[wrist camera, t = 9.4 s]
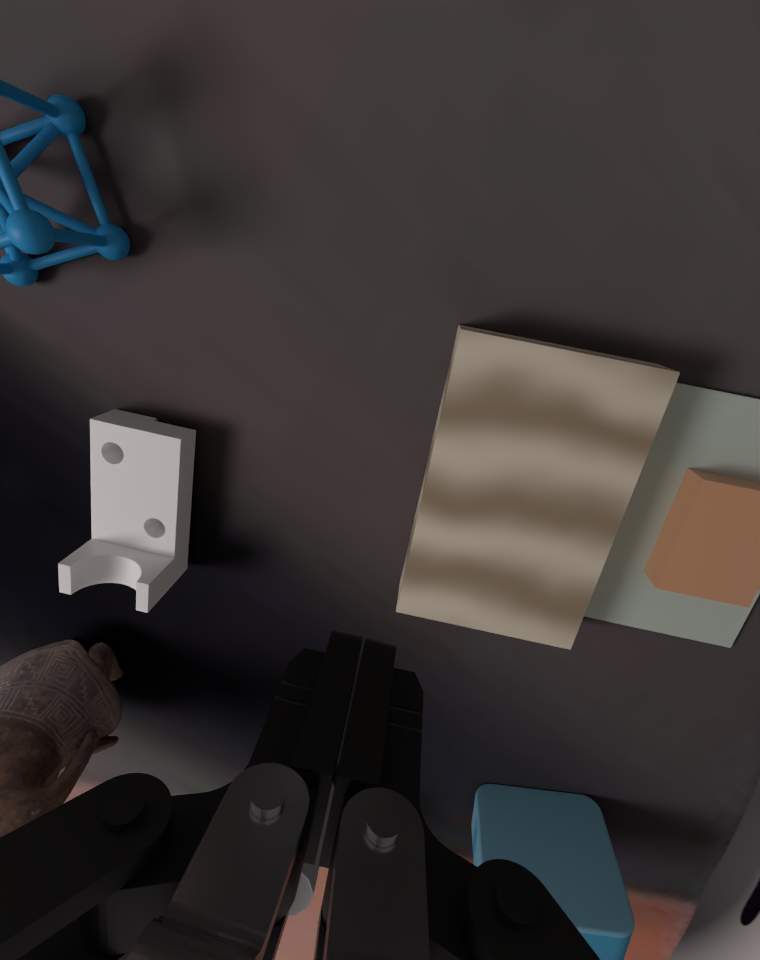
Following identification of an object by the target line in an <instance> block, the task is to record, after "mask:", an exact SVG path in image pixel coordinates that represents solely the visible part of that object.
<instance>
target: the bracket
mask: <svg viewBox="0 0 760 960" xmlns="http://www.w3.org/2000/svg"><path fill="white" fill-rule="evenodd" d="M195 440H196V430H193V429H188V428H184V427H180V426H175V425H171V424H166V423H162V422H157V418H153V417H148V416H144V415H140V414H135V413H131V412H126V411H122V410H117V409H114V410H112V411H109V412H107V413H104V414H101V415H99V416H96V417H94V418H91V419H90V459H91V523H92V539H91V540H90V541H88V542H87V543H85V544H84V545H83V546H81V547H80V548H79V549H77V550H76V551H74V552H73V553H72V554H70V555H69V556H68V557H66V558H65V559H64V560H62V561H61V562H59V563H58V571H59V592H61V593H66V594H70V595H72V594H73V593H74V592H76V591H78V590H79V589H82V588H84V587H87V586H90V585H94V584H99V583H119V584H124V585H127V586H130V587H132V588H134V589H135V590H136V610H137V611H142V612H146V613H148V612H149V611H150V610H151V609H152V608H153V606H154V605H155V604H156V603H157V602H158V601H159V600H160V599H161V597H162V596H163V595H164V594H165V593H166V592H167V591H168V590H169V588H170V587H171V586H172V585H173V584H174V583H175V582H176V581H177V579H178V578H179V577H180V576H181V575H182V574H183V573H184V572H185V570H186V569H187V563H188V547H189V532H190V517H191V501H192V486H193V471H194V455H195Z"/></svg>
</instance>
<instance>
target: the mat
mask: <svg viewBox="0 0 760 960" xmlns="http://www.w3.org/2000/svg"><path fill="white" fill-rule="evenodd" d="M687 468H691V469H696V470H701V471H707V472H712V473H717V474H722V475H727V476H732V477H737V478H742V479H747V480H752V481H757V482H760V399H757V398H752V397H747V396H742V395H737V394H732V393H727V392H722V391H717V390H712V389H706V388H701V387H696V386H691V385H686V384H681V383H676V385H675V387H674V390H673V392H672V395H671V397H670V400H669V402H668V405H667V407H666V410H665V412H664V415H663V418H662V420H661V423H660V425H659V428H658V430H657V433H656V435H655V438H654V440H653V443H652V445H651V448H650V450H649V453H648V455H647V458H646V460H645V463H644V466H643V468H642V471H641V473H640V476H639V478H638V481H637V483H636V486H635V488H634V491H633V493H632V496H631V498H630V501H629V503H628V506H627V508H626V511H625V514H624V516H623V519H622V521H621V524H620V526H619V529H618V531H617V534H616V536H615V539H614V541H613V544H612V546H611V549H610V551H609V554H608V556H607V559H606V562H605V564H604V567H603V569H602V572H601V574H600V577H599V579H598V582H597V584H596V587H595V589H594V592H593V594H592V597H591V599H590V602H589V604H588V607H587V610H586V612H585V615H584V617H589V618H594V619H598V620H603V621H608V622H612V623H617V624H622V625H626V626H631V627H636V628H640V629H645V630H650V631H654V632H659V633H664V634H668V635H673V636H678V637H682V638H687V639H692V640H696V641H701V642H705V643H710V644H715V645H719V646H724V647H729V648H731V646H732V644H733V643H734V641H735V639H736V637H737V635H738V633H739V631H740V630H741V628H742V626H743V624H744V622H745V620H746V618H747V617H748V615H749V613H750V611H751V609H752V607H753V605H754V604H755V602H756V600H757V598H758V596H759V594H760V587H759V589H758V591H757V593H756V595H755V597H754V599H753V601H752V602H751V604H750V606H749V608H748V607H744V606H739V605H734V604H729V603H724V602H719V601H715V600H710V599H705V598H700V597H695V596H690V595H685V594H681V593H676V592H671V591H666V590H661V589H656V588H655V587H654V585H653V584H652V582H651V581H650V580H649V578H648V577H647V575H646V574H645V573H644V569H645V567H646V564H647V562H648V560H649V557H650V555H651V553H652V550H653V548H654V545H655V543H656V541H657V538H658V536H659V534H660V531H661V529H662V527H663V524H664V522H665V519H666V517H667V515H668V512H669V510H670V508H671V505H672V503H673V501H674V498H675V496H676V493H677V491H678V489H679V486H680V484H681V482H682V479H683V477H684V475H685V472H686V470H687Z"/></svg>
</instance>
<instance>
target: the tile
mask: <svg viewBox="0 0 760 960" xmlns="http://www.w3.org/2000/svg"><path fill="white" fill-rule="evenodd" d="M644 573H645V574H646V575H647V577H648V578H649V580H650V581H651V582H652V584H653V585H654V587H655V588H656V589H661V590H666V591H671V592H676V593H681V594H685V595H690V596H695V597H700V598H705V599H710V600H715V601H719V602H724V603H729V604H734V605H739V606H744V607H748V608H749V606H750V604H751V602H752V601H753V599H754V597H755V595H756V593H757V591H758V589H759V587H760V482H757V481H752V480H747V479H742V478H737V477H732V476H727V475H722V474H717V473H712V472H707V471H701V470H696V469H691V468H687V470H686V472H685V475H684V477H683V479H682V482H681V484H680V486H679V489H678V491H677V493H676V496H675V498H674V501H673V503H672V505H671V508H670V510H669V512H668V515H667V517H666V519H665V522H664V524H663V527H662V529H661V531H660V534H659V536H658V538H657V541H656V543H655V545H654V548H653V550H652V553H651V555H650V557H649V560H648V562H647V564H646V567H645V569H644Z"/></svg>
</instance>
